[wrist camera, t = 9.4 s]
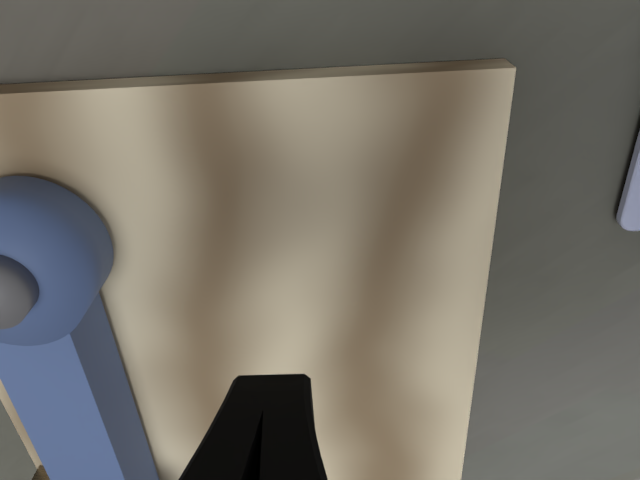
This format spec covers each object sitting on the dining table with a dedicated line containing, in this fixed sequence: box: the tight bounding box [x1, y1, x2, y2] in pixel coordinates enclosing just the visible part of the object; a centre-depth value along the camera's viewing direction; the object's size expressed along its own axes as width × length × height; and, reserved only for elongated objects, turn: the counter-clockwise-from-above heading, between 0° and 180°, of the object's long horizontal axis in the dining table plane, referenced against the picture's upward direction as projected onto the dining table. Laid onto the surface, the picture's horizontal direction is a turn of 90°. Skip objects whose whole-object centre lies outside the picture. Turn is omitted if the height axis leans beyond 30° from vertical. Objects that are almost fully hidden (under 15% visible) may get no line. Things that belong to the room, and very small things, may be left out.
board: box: [0, 58, 516, 480], centre depth 21 cm, size 20×20×1 cm
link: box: [0, 176, 159, 480], centre depth 20 cm, size 18×5×3 cm, turn 2°
